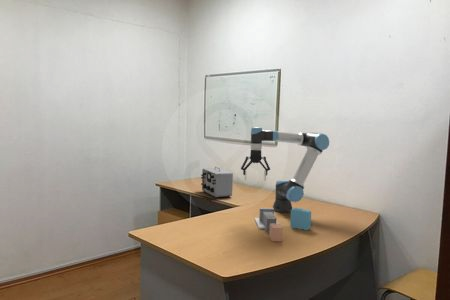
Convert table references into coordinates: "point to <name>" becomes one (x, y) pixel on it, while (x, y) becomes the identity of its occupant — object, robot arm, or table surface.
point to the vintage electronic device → (217, 182)
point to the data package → (300, 219)
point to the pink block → (275, 232)
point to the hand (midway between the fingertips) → (255, 180)
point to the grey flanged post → (265, 218)
